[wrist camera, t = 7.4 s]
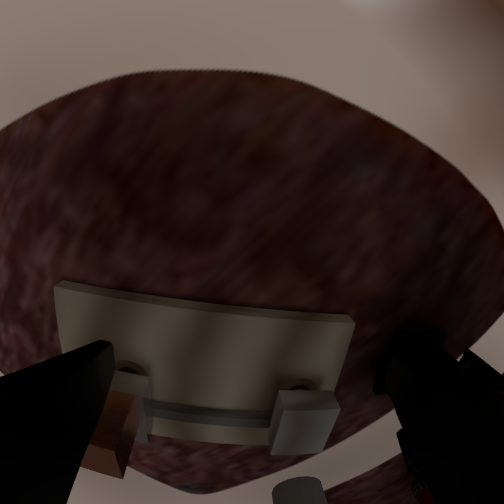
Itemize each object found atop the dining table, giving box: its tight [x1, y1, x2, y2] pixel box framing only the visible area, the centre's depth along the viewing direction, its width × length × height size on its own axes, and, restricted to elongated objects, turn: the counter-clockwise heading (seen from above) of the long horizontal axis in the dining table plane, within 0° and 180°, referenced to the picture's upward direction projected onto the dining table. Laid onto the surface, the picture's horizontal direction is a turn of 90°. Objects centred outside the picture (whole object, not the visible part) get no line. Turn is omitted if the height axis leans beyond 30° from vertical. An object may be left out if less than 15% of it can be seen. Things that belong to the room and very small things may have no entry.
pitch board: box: [54, 280, 355, 455], centre depth 19 cm, size 22×13×5 cm, turn 82°
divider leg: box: [80, 370, 154, 479], centre depth 15 cm, size 4×5×8 cm
